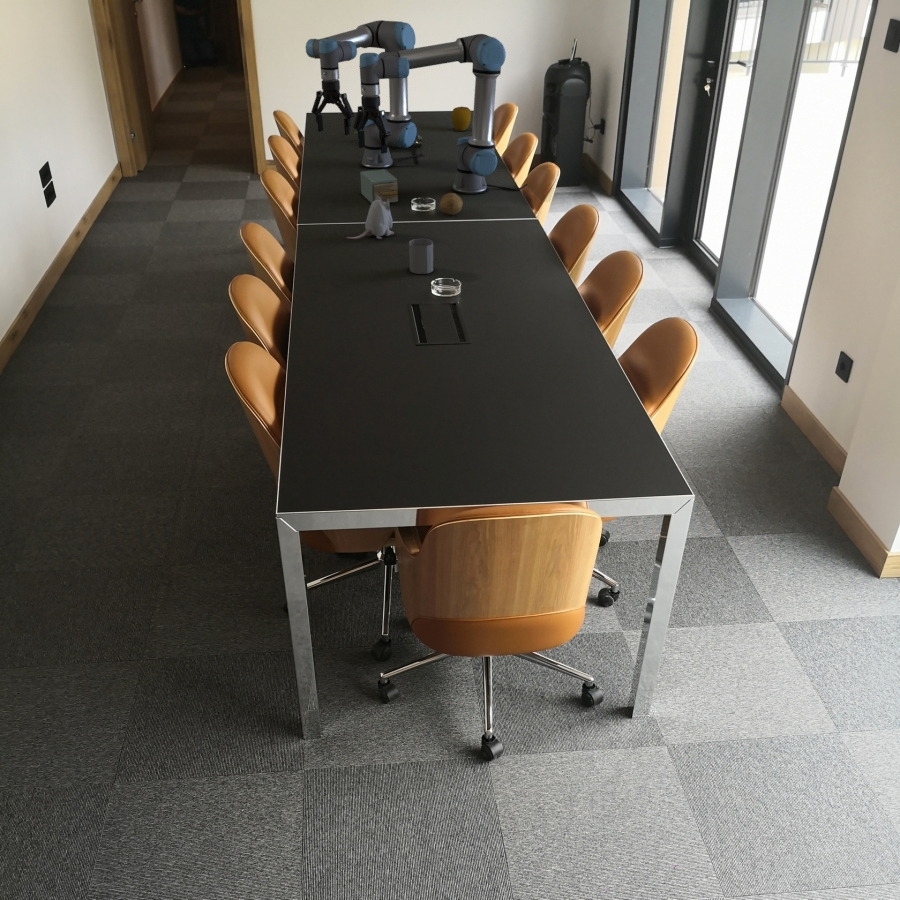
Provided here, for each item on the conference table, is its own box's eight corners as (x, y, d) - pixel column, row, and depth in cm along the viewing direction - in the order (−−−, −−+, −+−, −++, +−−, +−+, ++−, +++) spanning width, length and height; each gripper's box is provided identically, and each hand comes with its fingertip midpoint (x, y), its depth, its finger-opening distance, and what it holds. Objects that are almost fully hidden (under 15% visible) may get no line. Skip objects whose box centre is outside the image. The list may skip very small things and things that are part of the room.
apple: (471, 132, 486) (471, 108, 479) (451, 132, 486) (451, 108, 479) (470, 128, 495) (471, 104, 488) (452, 128, 495) (452, 104, 488)
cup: (409, 265, 311) (408, 238, 306) (432, 265, 312) (431, 238, 307) (410, 274, 304) (409, 246, 299) (433, 273, 305) (433, 246, 299)
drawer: (401, 204, 371) (401, 186, 366) (378, 206, 367) (378, 188, 363) (386, 190, 387) (386, 173, 383) (364, 193, 384) (363, 175, 380)
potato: (461, 208, 368) (461, 189, 364) (463, 218, 357) (464, 199, 352) (438, 208, 368) (438, 190, 364) (440, 219, 356) (440, 199, 352)
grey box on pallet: (397, 201, 377) (397, 179, 372) (372, 204, 373) (371, 181, 368) (385, 191, 391) (384, 169, 385) (361, 193, 387) (360, 171, 382)
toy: (399, 234, 340) (398, 196, 332) (354, 249, 326) (352, 209, 317) (384, 229, 345) (382, 191, 337) (338, 243, 331) (336, 204, 323)
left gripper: (300, 78, 364) (304, 131, 375) (350, 83, 354) (353, 137, 366) (310, 76, 369) (314, 128, 381) (360, 80, 360) (363, 134, 371)
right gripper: (342, 92, 351) (346, 146, 362) (385, 101, 336) (387, 157, 348) (356, 90, 355) (359, 143, 367) (398, 98, 341) (400, 153, 352)
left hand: (333, 132), depth 373 cm, fingers open, 13 cm apart
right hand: (373, 150), depth 357 cm, fingers open, 13 cm apart
